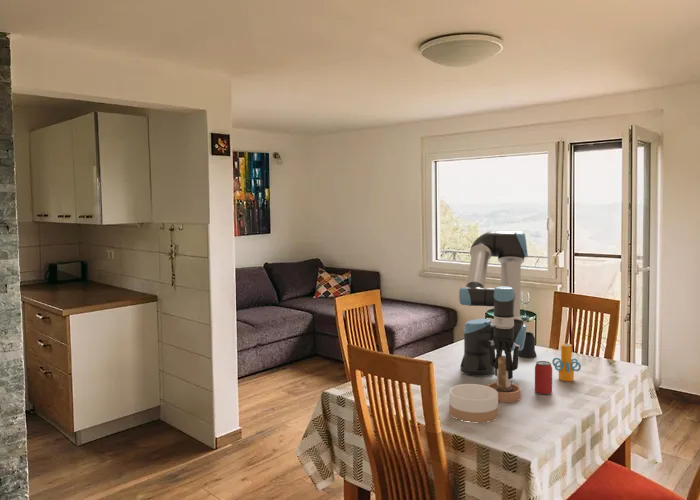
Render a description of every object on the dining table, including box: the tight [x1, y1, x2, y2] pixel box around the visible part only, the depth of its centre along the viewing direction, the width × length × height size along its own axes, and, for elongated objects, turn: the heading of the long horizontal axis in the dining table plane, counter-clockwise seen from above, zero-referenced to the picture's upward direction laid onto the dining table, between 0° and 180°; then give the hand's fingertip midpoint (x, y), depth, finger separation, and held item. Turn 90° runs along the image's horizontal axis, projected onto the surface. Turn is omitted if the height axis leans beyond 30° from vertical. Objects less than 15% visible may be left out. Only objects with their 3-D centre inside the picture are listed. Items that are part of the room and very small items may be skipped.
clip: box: [495, 387, 513, 393], centre depth 217 cm, size 5×5×2 cm
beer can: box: [534, 360, 553, 395], centre depth 221 cm, size 7×7×12 cm
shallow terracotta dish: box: [486, 381, 522, 403], centre depth 217 cm, size 13×13×4 cm
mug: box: [519, 331, 538, 359], centre depth 273 cm, size 12×9×11 cm
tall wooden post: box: [498, 354, 509, 391], centre depth 217 cm, size 3×3×14 cm
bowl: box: [448, 383, 499, 423], centre depth 200 cm, size 17×17×8 cm
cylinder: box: [551, 343, 582, 382], centre depth 235 cm, size 12×10×15 cm
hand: (503, 385), depth 217 cm, fingers closed on tall wooden post, 3 cm apart
